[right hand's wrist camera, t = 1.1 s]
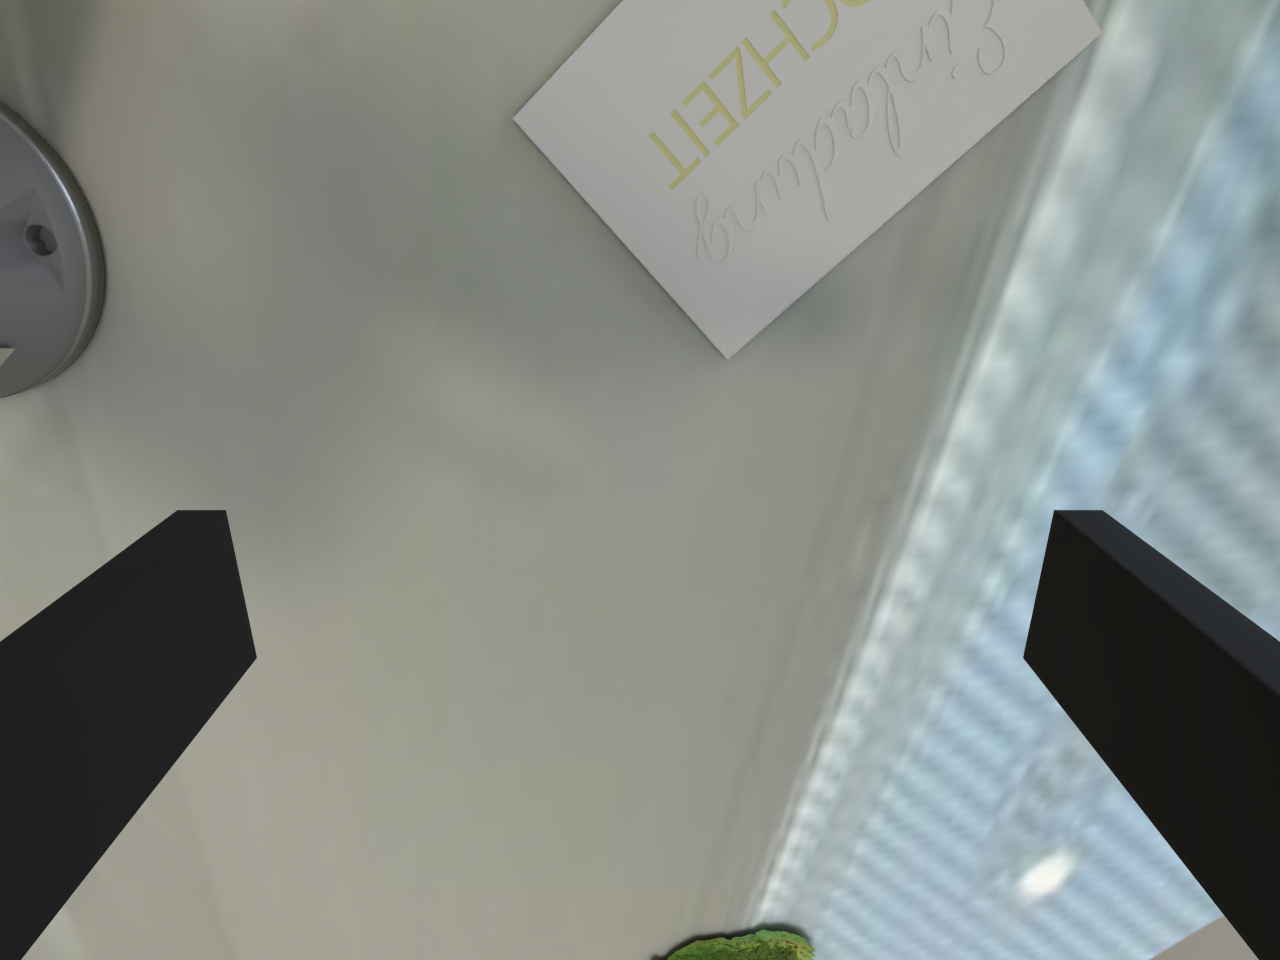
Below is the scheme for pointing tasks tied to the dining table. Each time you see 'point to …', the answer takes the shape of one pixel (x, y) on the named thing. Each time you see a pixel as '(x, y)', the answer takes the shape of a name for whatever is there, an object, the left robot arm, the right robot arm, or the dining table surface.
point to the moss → (748, 948)
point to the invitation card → (781, 129)
